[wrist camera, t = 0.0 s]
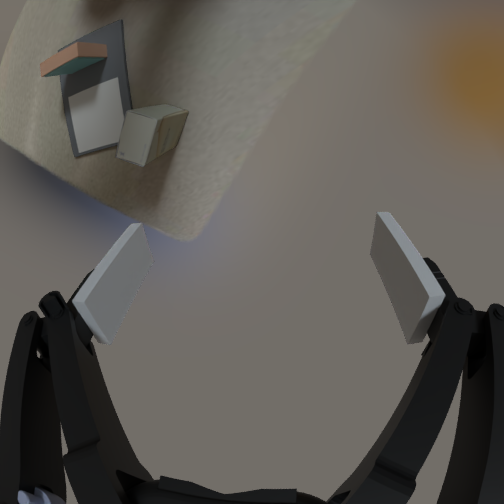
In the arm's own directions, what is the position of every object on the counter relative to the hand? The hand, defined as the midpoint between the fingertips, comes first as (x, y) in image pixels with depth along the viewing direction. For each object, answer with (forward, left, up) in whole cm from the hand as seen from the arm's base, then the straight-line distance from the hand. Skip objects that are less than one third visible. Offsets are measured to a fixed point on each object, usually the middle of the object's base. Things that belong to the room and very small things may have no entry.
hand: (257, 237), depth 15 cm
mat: (-14, -27, -28) cm, 41 cm away
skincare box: (-4, -14, -28) cm, 32 cm away
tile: (-20, -27, -27) cm, 43 cm away
